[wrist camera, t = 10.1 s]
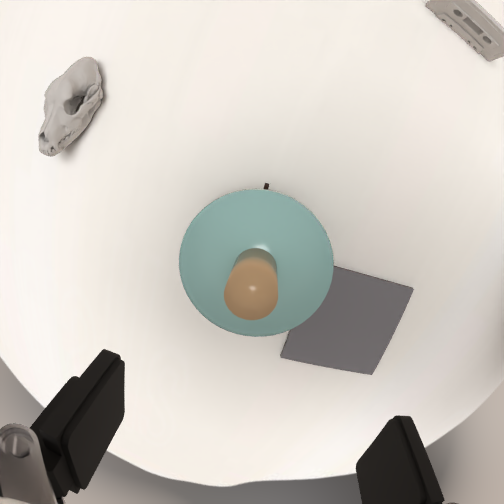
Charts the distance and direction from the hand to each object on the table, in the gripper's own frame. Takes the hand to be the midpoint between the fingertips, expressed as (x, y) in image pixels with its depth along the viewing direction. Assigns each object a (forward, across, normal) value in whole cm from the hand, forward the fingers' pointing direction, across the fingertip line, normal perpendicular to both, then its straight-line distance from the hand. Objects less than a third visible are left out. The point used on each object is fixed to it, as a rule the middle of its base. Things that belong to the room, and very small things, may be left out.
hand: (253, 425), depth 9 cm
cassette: (+29, -18, -35) cm, 49 cm away
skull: (+28, +28, -10) cm, 41 cm away
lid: (+18, +1, +1) cm, 18 cm away
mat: (+28, -13, +9) cm, 32 cm away
